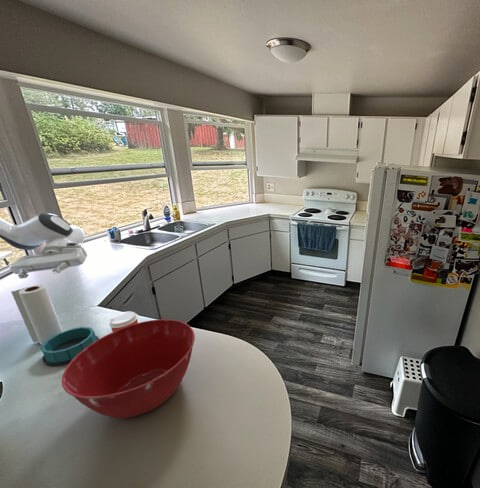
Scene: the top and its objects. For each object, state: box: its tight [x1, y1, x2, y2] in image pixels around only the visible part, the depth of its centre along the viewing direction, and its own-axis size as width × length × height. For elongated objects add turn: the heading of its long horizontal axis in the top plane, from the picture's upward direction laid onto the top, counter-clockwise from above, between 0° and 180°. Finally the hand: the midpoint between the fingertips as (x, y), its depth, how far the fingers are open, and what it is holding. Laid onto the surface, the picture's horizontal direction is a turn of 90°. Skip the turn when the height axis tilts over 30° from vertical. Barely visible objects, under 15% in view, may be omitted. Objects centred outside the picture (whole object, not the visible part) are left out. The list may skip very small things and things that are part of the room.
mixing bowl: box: [61, 318, 196, 419], centre depth 70 cm, size 28×28×15 cm
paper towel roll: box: [10, 284, 64, 346], centre depth 87 cm, size 7×6×21 cm
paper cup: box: [108, 310, 139, 332], centre depth 85 cm, size 8×8×14 cm
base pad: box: [40, 326, 100, 367], centre depth 86 cm, size 14×14×5 cm
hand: (39, 274), depth 89 cm, fingers open, 8 cm apart
